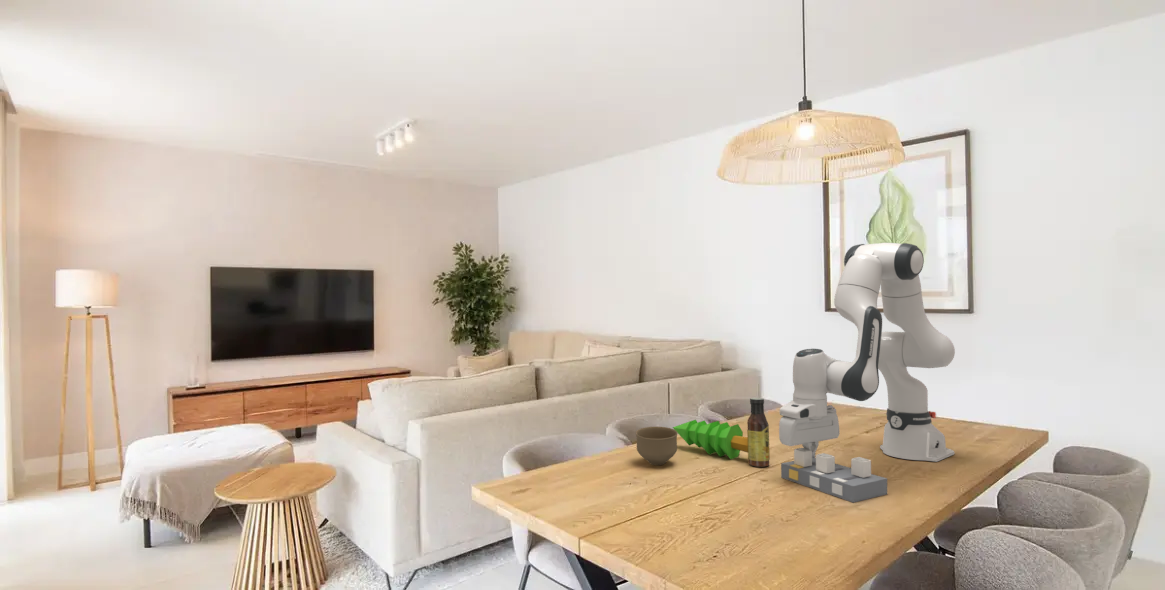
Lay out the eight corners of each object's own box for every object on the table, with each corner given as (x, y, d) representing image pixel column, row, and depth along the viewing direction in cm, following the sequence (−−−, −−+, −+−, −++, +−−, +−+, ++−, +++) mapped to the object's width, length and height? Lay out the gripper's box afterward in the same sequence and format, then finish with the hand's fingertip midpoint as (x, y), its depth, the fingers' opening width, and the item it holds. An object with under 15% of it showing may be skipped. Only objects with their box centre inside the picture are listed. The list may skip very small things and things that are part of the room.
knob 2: (823, 468, 159) (823, 452, 159) (834, 471, 156) (834, 455, 156) (815, 470, 158) (815, 454, 158) (826, 473, 154) (826, 457, 155)
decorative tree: (749, 423, 178) (668, 407, 199) (741, 461, 175) (659, 440, 196) (765, 432, 186) (685, 415, 207) (757, 468, 183) (677, 448, 204)
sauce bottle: (771, 468, 174) (769, 400, 174) (749, 467, 175) (747, 400, 175) (768, 462, 180) (766, 396, 180) (747, 461, 181) (745, 396, 182)
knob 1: (801, 462, 165) (801, 447, 165) (812, 465, 162) (811, 450, 162) (794, 463, 164) (794, 448, 164) (804, 466, 160) (804, 451, 160)
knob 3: (859, 472, 155) (859, 456, 155) (871, 476, 152) (870, 459, 152) (851, 474, 154) (851, 458, 154) (863, 477, 151) (863, 461, 151)
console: (813, 471, 171) (813, 456, 171) (887, 494, 151) (887, 477, 151) (780, 477, 165) (780, 462, 165) (852, 502, 145) (852, 485, 145)
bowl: (630, 467, 176) (630, 433, 176) (642, 456, 187) (642, 425, 188) (672, 471, 171) (672, 437, 171) (681, 460, 183) (681, 428, 183)
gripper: (826, 402, 172) (826, 450, 172) (774, 409, 162) (775, 460, 162) (845, 406, 166) (845, 455, 166) (792, 413, 157) (793, 465, 156)
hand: (810, 457), depth 164 cm, fingers closed
